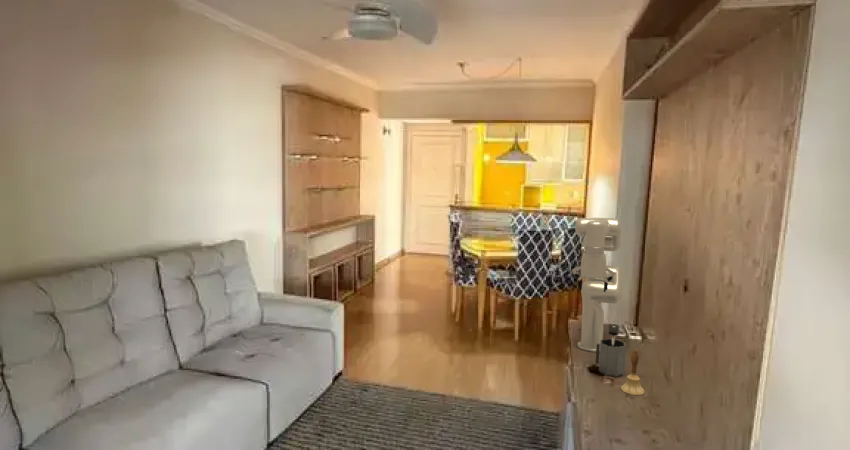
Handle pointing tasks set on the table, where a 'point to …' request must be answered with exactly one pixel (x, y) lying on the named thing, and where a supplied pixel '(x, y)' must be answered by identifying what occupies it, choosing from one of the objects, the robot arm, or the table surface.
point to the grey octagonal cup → (611, 357)
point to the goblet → (613, 331)
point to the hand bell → (633, 378)
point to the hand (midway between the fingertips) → (592, 290)
